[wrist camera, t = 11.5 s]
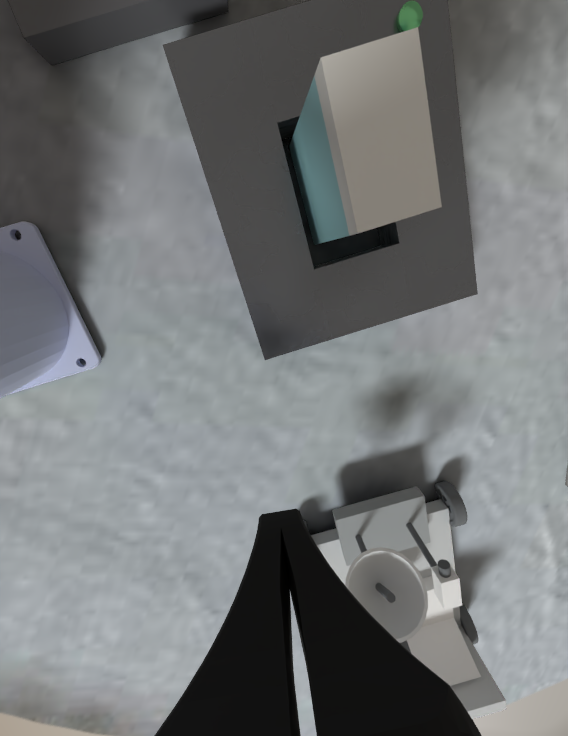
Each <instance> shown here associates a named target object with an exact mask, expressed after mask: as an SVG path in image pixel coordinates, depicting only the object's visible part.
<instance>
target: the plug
mask: <svg viewBox="0 0 568 736" xmlns="http://www.w3.org/2000/svg"><path fill="white" fill-rule="evenodd" d="M289 148H290V152H291V156H292V160H293V164H294V168H295V172H296V176H297V180H298V184H299V188H300V192H301V196H302V200H303V204H304V208H305V212H306V215H307V219H308V223H309V227H310V231H311V235H312V239H313V243H314V245H316V244H320V243H324V242H328V241H331V240H335V239H339V238H343V237H347V236H351V235H354V234H358V233H361V232H364V231H368V230H371V229H374V228H377V227H380V226H383V225H387V224H390V223H393V222H396V221H399V220H402V219H406V218H409V217H412V216H415V215H418V214H421V213H425V212H428V211H431V210H434V209H437V208H440V207H442V205H441V197H440V189H439V182H438V174H437V167H436V159H435V152H434V144H433V136H432V129H431V121H430V114H429V106H428V99H427V91H426V84H425V76H424V68H423V61H422V53H421V46H420V38H419V31H418V27H417V28H414V29H411V30H407V31H404V32H401V33H398V34H395V35H391V36H388V37H385V38H382V39H379V40H375V41H372V42H369V43H366V44H363V45H359V46H356V47H353V48H350V49H347V50H343V51H340V52H337V53H334V54H331V55H327V56H324V57H321V58H320V61H319V64H318V66H317V69H316V72H315V75H314V78H313V81H312V83H311V86H310V89H309V92H308V95H307V97H306V100H305V103H304V106H303V109H302V112H301V114H300V117H299V120H298V123H297V126H296V128H295V131H294V134H293V137H292V140H291V143H290V145H289Z"/></svg>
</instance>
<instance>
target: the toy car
mask: <svg viewBox="0 0 568 736" xmlns="http://www.w3.org/2000/svg"><path fill="white" fill-rule="evenodd" d="M435 490H436V492H437V497H438V498H437V500H436V501H432V502H429V503H425V497H424V495H423V493H422V492H421V491H420V489H419V488H418V487H417V486H416V487H412V488H409V489H405V490H401V491H398V492H394V493H391V494H387V495H383V496H380V497H376V498H373V499H369V500H365V501H362V502H358V503H355V504H351V505H347V506H344V507H340V508H337V509H333V510H332V512H333V516H334V520H335V524H336V529H332V530H328V531H325V532H321V533H318V534H314V535H311V537H312V538H313V540H314V542H315V544H316V545H317V547H318V548H319V550H320V551H321V553H322V554H323V556H324V558H325V559H326V560H327V562H328V563H329V565H330V566H331V568H332V569H333V570H334V572H335V573H336V574H337V576H338V577H339V578H340V580H341V581H342V582H343V583H344V585H345V586H346V587H347V588H348V590H349V591H350V592H351V593H352V594H353V596H354V597H355V598H356V599H357V600H358V601H359V602H360V604H361V605H362V606H363V607H364V608H365V609H366V610H367V611H368V612H369V613H370V615H371V616H372V617H373V618H374V619H375V620H376V621H377V622H378V623H380V624H381V625H382V626H383V627H384V628H385V629H386V630H387V631H388V632H389V633H390V634H391V635H392V636H393V637H394V638H395V639H396V640H397V641H398V642H399V643H400V644H401V645H402V646H403V647H405V648H406V649H407V650H408V651H409V652H410V653H411V654H412V655H414V656H415V657H416V658H417V659H418V660H419V661H421V662H422V663H423V664H424V665H425V666H427V667H428V668H429V669H430V670H431V671H433V672H434V673H435V674H436V675H438V676H439V677H440V678H441V679H443V680H444V681H445V682H446V683H448V684H449V685H450V687H451V688H452V690H453V691H454V692H455V694H456V695H457V697H458V698H459V700H460V701H461V703H462V704H463V706H464V707H465V709H466V710H467V712H468V713H469V715H470V717H471V718H472V719H475V718H478V717H482V716H485V715H488V714H492V713H496V712H499V711H502V710H506V700H505V698H504V696H503V695H502V693H501V691H500V690H499V688H498V686H497V685H496V683H495V681H494V679H493V678H492V676H491V674H490V673H489V671H488V669H487V668H486V666H485V664H484V662H483V661H482V659H481V657H480V656H479V654H478V652H477V651H476V649H475V647H474V646H473V644H476V643H477V642H478V635H477V631H476V628H475V625H474V623H473V621H472V619H471V617H470V615H469V613H468V611H467V609H466V608H465V606H464V605H463V604H462V598H461V589H460V579H459V577H458V576H457V574H456V572H455V563H454V554H453V545H452V536H451V527H450V525H451V526H453V527H457V526H460V525H464V524H466V522H467V512H466V508H465V505H464V503H463V500H462V498H461V496H460V495H459V493H458V491H457V490H456V488H455V487H454V486H453V485H452V484H451V483H449V482H448V481H443V482H440V483H436V484H435ZM303 521H304V523H305V525H306V527H307V522H306V521H305V520H303ZM307 529H308V528H307Z"/></svg>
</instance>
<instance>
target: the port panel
mask: <svg viewBox="0 0 568 736" xmlns="http://www.w3.org/2000/svg"><path fill="white" fill-rule="evenodd" d="M417 27H418V31H419V38H420V46H421V53H422V61H423V68H424V76H425V84H426V91H427V99H428V106H429V114H430V121H431V129H432V136H433V144H434V152H435V159H436V167H437V174H438V182H439V189H440V197H441V205H442V207H440V208H437V209H434V210H431V211H428V212H425V213H421V214H418V215H415V216H412V217H409V218H406V219H402V220H399V221H396V222H393V223H390V224H387V225H383V226H380V227H378V233H379V238H380V244H381V246H378V247H375V248H371V249H368V250H365V251H362V252H359V253H355V254H352V255H349V256H346V257H342V258H339V259H336V260H333V261H329V262H326V263H323V264H320V265H316V266H313V263H312V259H311V255H310V251H309V247H308V243H307V239H306V235H305V231H304V227H303V223H302V219H301V215H300V211H299V207H298V203H297V200H296V196H295V192H294V188H293V184H292V180H291V176H290V172H289V168H288V164H287V160H286V156H285V152H284V148H283V144H282V140H281V139H284V138H288V137H291V136H293V134H294V131H295V128H296V126H297V123H298V120H299V117H300V114H301V112H302V109H303V106H304V103H305V100H306V97H307V95H308V92H309V89H310V86H311V83H312V81H313V78H314V75H315V72H316V69H317V66H318V64H319V61H320V58H321V57H324V56H327V55H331V54H334V53H337V52H340V51H343V50H347V49H350V48H353V47H356V46H359V45H363V44H366V43H369V42H372V41H375V40H379V39H382V38H385V37H388V36H391V35H395V34H398V33H401V32H404V31H407V30H411V29H414V28H417ZM163 47H164V50H165V54H166V57H167V60H168V63H169V66H170V69H171V72H172V75H173V78H174V81H175V84H176V87H177V90H178V94H179V97H180V100H181V103H182V106H183V109H184V112H185V115H186V118H187V121H188V124H189V127H190V130H191V134H192V137H193V140H194V143H195V146H196V149H197V152H198V155H199V158H200V161H201V164H202V167H203V171H204V174H205V177H206V180H207V183H208V186H209V189H210V192H211V195H212V198H213V201H214V204H215V207H216V211H217V214H218V217H219V220H220V223H221V226H222V229H223V232H224V235H225V238H226V241H227V244H228V247H229V251H230V254H231V257H232V260H233V263H234V266H235V269H236V272H237V275H238V278H239V281H240V284H241V287H242V291H243V294H244V297H245V300H246V303H247V306H248V309H249V312H250V315H251V318H252V321H253V324H254V327H255V331H256V334H257V337H258V340H259V343H260V346H261V349H262V352H263V355H264V358H265V360H267V359H270V358H273V357H276V356H279V355H283V354H286V353H289V352H292V351H296V350H299V349H302V348H305V347H308V346H312V345H315V344H318V343H321V342H325V341H328V340H331V339H334V338H337V337H341V336H344V335H347V334H350V333H353V332H357V331H360V330H363V329H366V328H370V327H373V326H376V325H379V324H382V323H386V322H389V321H392V320H395V319H399V318H402V317H405V316H408V315H411V314H415V313H418V312H421V311H424V310H427V309H431V308H434V307H437V306H440V305H444V304H447V303H450V302H453V301H456V300H460V299H463V298H466V297H469V296H473V295H476V294H477V284H476V274H475V264H474V254H473V245H472V235H471V225H470V215H469V205H468V196H467V186H466V176H465V166H464V157H463V147H462V137H461V127H460V117H459V108H458V98H457V88H456V78H455V68H454V59H453V49H452V39H451V29H450V19H449V10H448V0H310V1H306V2H303V3H300V4H296V5H293V6H290V7H287V8H283V9H280V10H277V11H273V12H270V13H267V14H263V15H260V16H257V17H253V18H250V19H247V20H244V21H240V22H237V23H234V24H230V25H227V26H224V27H220V28H217V29H214V30H211V31H207V32H204V33H201V34H197V35H194V36H191V37H187V38H184V39H181V40H177V41H174V42H171V43H168V44H164V45H163Z"/></svg>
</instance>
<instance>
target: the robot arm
mask: <svg viewBox="0 0 568 736" xmlns="http://www.w3.org/2000/svg"><path fill="white" fill-rule="evenodd" d="M17 230H18V231H19V232H20V233H21V239H20V240H18V239H17V238H16V237H15V232H16V231H17ZM80 358H82V359H84V360H85V361H86V365H82V364H81V363H80ZM101 360H102V359H101V355H100V353H99V351H98V349H97V347H96V345H95V343H94V341H93V339H92V337H91V335H90V333H89V331H88V329H87V327H86V325H85V323H84V321H83V319H82V317H81V315H80V313H79V311H78V309H77V307H76V304H75V302H74V300H73V298H72V296H71V294H70V292H69V290H68V288H67V286H66V284H65V282H64V280H63V278H62V276H61V274H60V272H59V270H58V268H57V266H56V264H55V262H54V260H53V258H52V255H51V253H50V251H49V249H48V247H47V245H46V243H45V241H44V239H43V237H42V235H41V233H40V231H39V229H38V228H37V226H35V225H34V224H33V223H30V222H25V221H23V222H18V223H15V224H11V225H8V226H5V227H2V228H0V398H2V397H4V396H6V395H8V394H11V393H15V392H18V391H21V390H24V389H28V388H31V387H34V386H37V385H41V384H44V383H47V382H50V381H53V380H57V379H60V378H63V377H66V376H70V375H73V374H76V373H79V372H83V371H86V370H89V369H92V368H95V367H97V366H98V365H99V364H100V363H101ZM290 592H291V597H292V601H293V606H294V610H295V615H296V620H297V624H298V629H299V633H300V638H301V643H302V647H303V652H304V656H305V661H306V666H307V672H308V677H309V684H310V690H311V697H312V704H313V711H314V718H315V725H316V732H317V736H481V734H480V732H479V730H478V728H477V727H476V725H475V724H474V722H473V720H472V718H471V717H470V715H469V713H468V712H467V710H466V709H465V707H464V706H463V704H462V703H461V701H460V700H459V698H458V697H457V695H456V694H455V692H454V691H453V690H452V688H451V687H450V685H449V684H448V683H446V682H445V681H444V680H443V679H441V678H440V677H439V676H438V675H436V674H435V673H434V672H433V671H431V670H430V669H429V668H428V667H427V666H425V665H424V664H423V663H422V662H421V661H419V660H418V659H417V658H416V657H415V656H414V655H412V654H411V653H410V652H409V651H408V650H407V649H406V648H405V647H403V646H402V645H401V644H400V643H399V642H398V641H397V640H396V639H395V638H394V637H393V636H392V635H391V634H390V633H389V632H388V631H387V630H386V629H385V628H384V627H383V626H382V625H381V624H380V623H378V622H377V621H376V620H375V619H374V618H373V617H372V616H371V615H370V613H369V612H368V611H367V610H366V609H365V608H364V607H363V606H362V605H361V604H360V602H359V601H358V600H357V599H356V598H355V597H354V596H353V594H352V593H351V592H350V591H349V590H348V588H347V587H346V586H345V585H344V583H343V582H342V581H341V580H340V578H339V577H338V576H337V574H336V573H335V572H334V570H333V569H332V568H331V566H330V565H329V563H328V562H327V560H326V559H325V558H324V556H323V554H322V553H321V551H320V550H319V548H318V547H317V545H316V544H315V542H314V540H313V538H312V537H311V535H310V533H309V531H308V529H307V527H306V525H305V523H304V521H303V519H302V517H301V514H300V511H299V510H297V509H292V510H286V511H280V512H273V513H267V514H262V515H261V516H260V517H259V524H258V530H257V534H256V538H255V542H254V546H253V550H252V553H251V556H250V559H249V562H248V565H247V568H246V571H245V574H244V577H243V579H242V582H241V584H240V587H239V590H238V592H237V595H236V597H235V599H234V602H233V604H232V606H231V608H230V611H229V613H228V615H227V617H226V619H225V621H224V623H223V625H222V627H221V629H220V631H219V633H218V635H217V637H216V639H215V641H214V643H213V645H212V647H211V648H210V650H209V652H208V654H207V656H206V657H205V659H204V661H203V663H202V664H201V666H200V667H199V669H198V671H197V672H196V674H195V676H194V677H193V679H192V681H191V682H190V684H189V685H188V687H187V689H186V690H185V692H184V694H183V695H182V697H181V698H180V700H179V701H178V703H177V704H176V706H175V707H174V709H173V710H172V712H171V713H170V714H169V716H168V717H167V719H166V720H165V722H164V723H163V724H162V726H161V727H160V729H159V730H158V732H157V733H156V734H155V736H300V728H299V719H298V710H297V702H296V693H295V684H294V672H293V655H292V631H291V608H290Z"/></svg>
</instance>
